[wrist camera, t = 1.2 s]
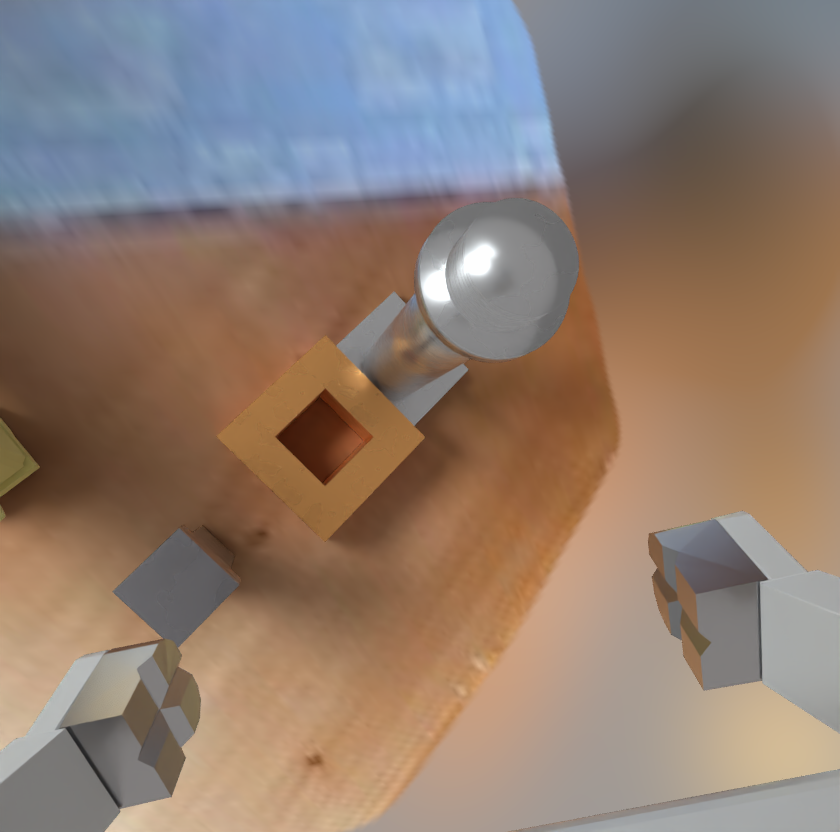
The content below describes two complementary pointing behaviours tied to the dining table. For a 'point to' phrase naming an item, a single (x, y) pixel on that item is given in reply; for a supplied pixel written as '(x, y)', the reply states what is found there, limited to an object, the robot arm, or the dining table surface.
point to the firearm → (12, 462)
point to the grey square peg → (180, 583)
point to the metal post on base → (414, 352)
